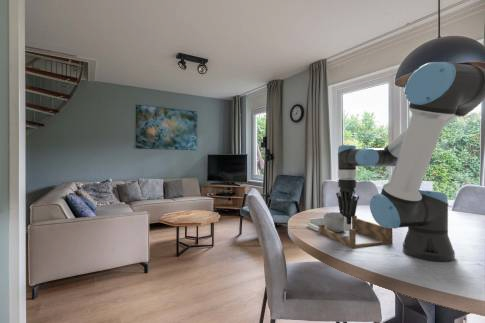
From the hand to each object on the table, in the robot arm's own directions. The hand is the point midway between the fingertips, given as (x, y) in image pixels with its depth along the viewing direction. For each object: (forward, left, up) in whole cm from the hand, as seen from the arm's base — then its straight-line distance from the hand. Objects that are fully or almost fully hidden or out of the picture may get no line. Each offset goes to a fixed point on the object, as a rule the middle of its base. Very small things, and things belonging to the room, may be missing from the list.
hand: (347, 230), depth 115 cm
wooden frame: (-4, 0, -2) cm, 5 cm away
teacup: (+10, 0, -2) cm, 10 cm away
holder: (+14, 0, -2) cm, 14 cm away
